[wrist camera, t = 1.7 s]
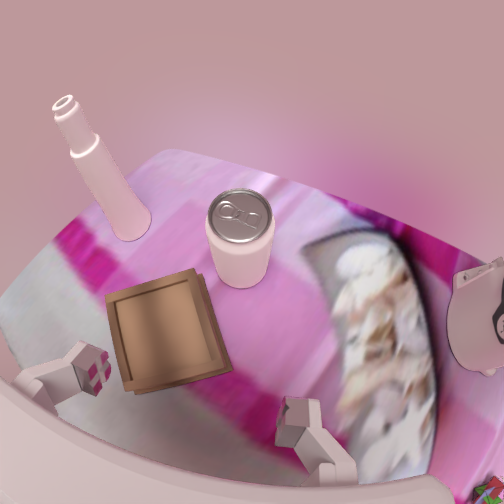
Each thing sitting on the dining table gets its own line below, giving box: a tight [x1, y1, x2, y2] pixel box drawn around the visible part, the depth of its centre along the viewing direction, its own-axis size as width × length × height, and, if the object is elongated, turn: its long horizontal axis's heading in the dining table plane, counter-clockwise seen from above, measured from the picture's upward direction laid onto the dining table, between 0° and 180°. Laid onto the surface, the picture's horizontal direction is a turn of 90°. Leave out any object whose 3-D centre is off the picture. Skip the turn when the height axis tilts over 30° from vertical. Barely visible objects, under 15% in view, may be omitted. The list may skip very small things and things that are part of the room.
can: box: [205, 188, 275, 288], centre depth 29 cm, size 6×6×12 cm
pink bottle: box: [52, 95, 151, 241], centre depth 27 cm, size 6×6×22 cm
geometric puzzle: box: [472, 475, 504, 504], centre depth 15 cm, size 7×7×8 cm
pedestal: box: [105, 268, 233, 395], centre depth 29 cm, size 12×12×5 cm
